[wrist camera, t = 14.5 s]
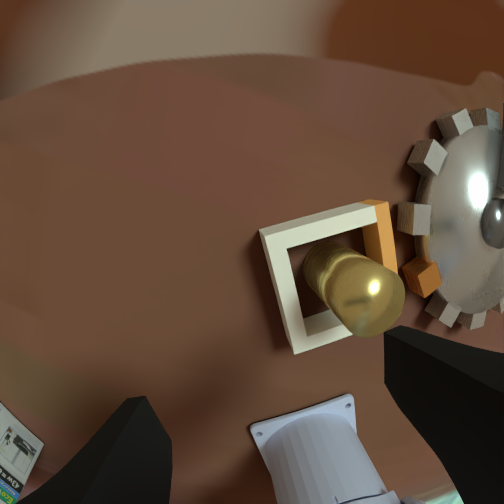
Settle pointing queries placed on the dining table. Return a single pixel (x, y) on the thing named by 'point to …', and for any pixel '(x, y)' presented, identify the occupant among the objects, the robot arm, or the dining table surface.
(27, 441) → the light bulb box
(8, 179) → the dining table surface
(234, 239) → the dining table surface
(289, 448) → the robot arm
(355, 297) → the brass pin
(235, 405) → the dining table surface
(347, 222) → the square open frame
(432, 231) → the sprocket
